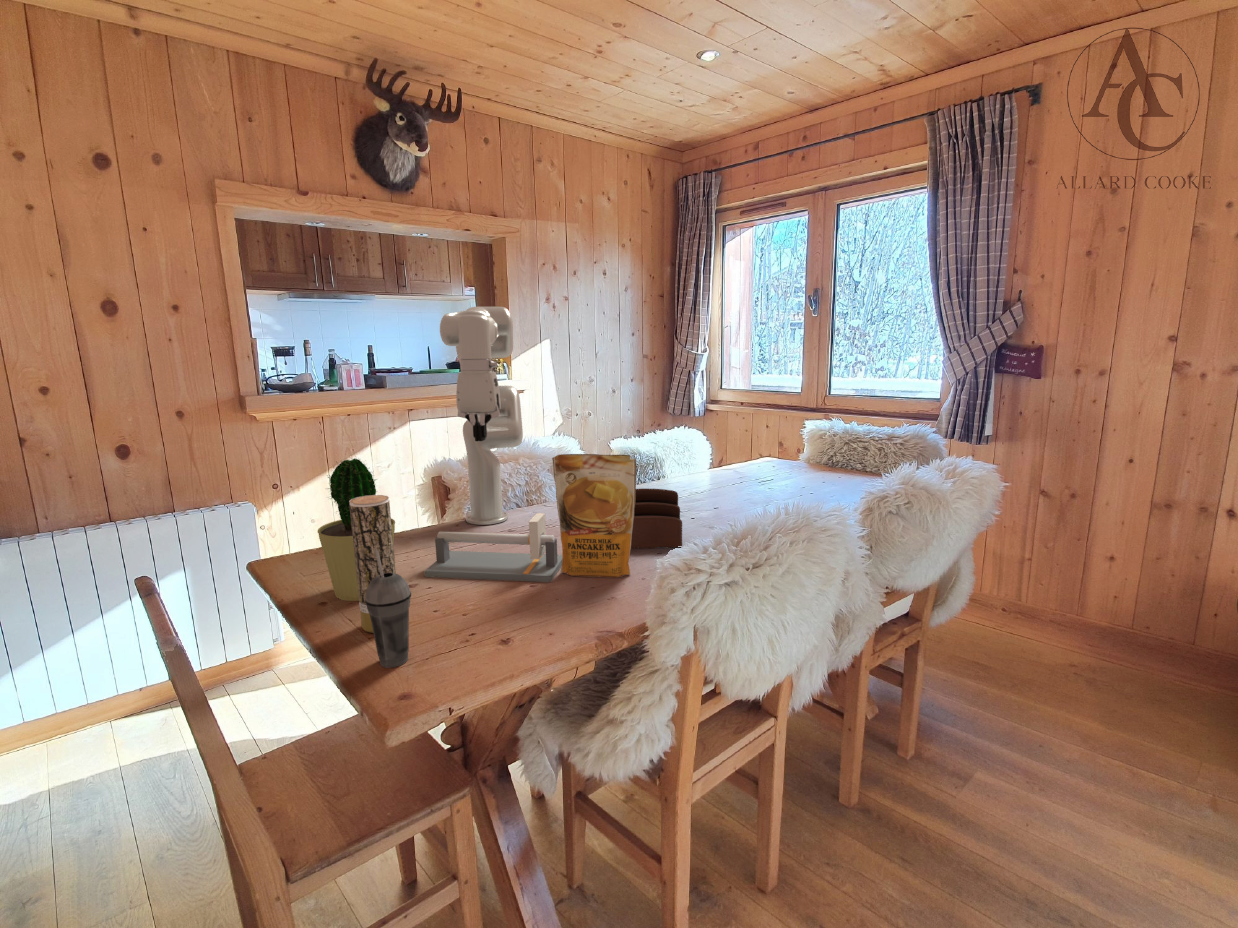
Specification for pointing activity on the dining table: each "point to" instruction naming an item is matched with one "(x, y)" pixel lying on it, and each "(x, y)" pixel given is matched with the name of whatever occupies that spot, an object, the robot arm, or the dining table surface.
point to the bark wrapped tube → (371, 544)
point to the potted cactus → (345, 526)
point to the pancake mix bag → (595, 512)
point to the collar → (537, 535)
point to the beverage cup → (389, 616)
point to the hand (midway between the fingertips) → (480, 440)
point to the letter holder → (656, 519)
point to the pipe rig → (494, 559)
